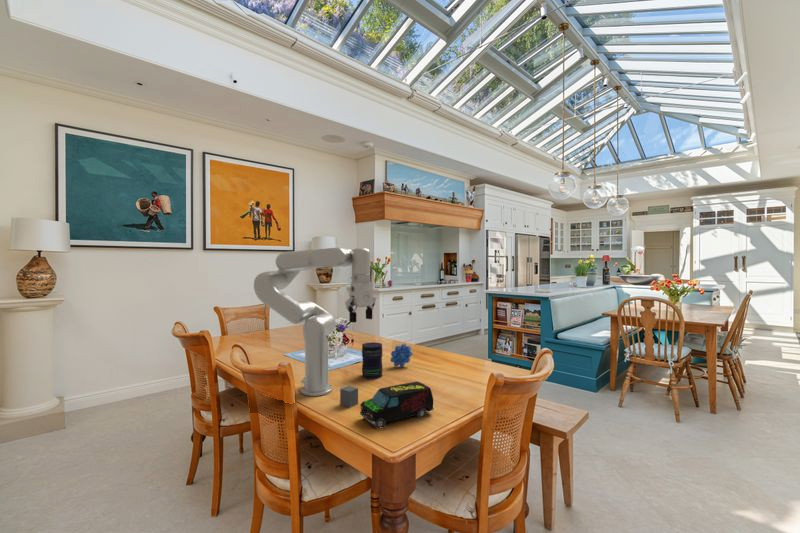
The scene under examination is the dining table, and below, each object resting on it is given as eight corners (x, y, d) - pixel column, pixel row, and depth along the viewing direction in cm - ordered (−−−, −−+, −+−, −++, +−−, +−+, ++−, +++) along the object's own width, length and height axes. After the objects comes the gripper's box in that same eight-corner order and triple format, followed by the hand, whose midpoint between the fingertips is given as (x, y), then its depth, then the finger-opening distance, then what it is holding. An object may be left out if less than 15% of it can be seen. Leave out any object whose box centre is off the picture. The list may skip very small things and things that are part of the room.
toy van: (358, 418, 123) (358, 390, 123) (419, 404, 135) (419, 378, 135) (371, 431, 114) (371, 400, 114) (435, 415, 126) (435, 386, 126)
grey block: (340, 404, 135) (340, 389, 135) (348, 401, 139) (348, 385, 139) (349, 407, 132) (349, 391, 132) (358, 403, 136) (358, 388, 136)
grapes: (410, 363, 190) (410, 341, 190) (413, 367, 183) (413, 344, 183) (389, 365, 188) (389, 342, 188) (391, 368, 181) (391, 345, 181)
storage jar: (380, 379, 164) (380, 347, 164) (359, 378, 166) (359, 346, 166) (384, 373, 174) (384, 342, 174) (364, 372, 175) (364, 342, 175)
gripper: (353, 279, 136) (353, 324, 136) (381, 278, 150) (381, 318, 150) (339, 279, 141) (339, 322, 141) (368, 277, 155) (368, 317, 155)
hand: (361, 320), depth 145 cm, fingers open, 9 cm apart
